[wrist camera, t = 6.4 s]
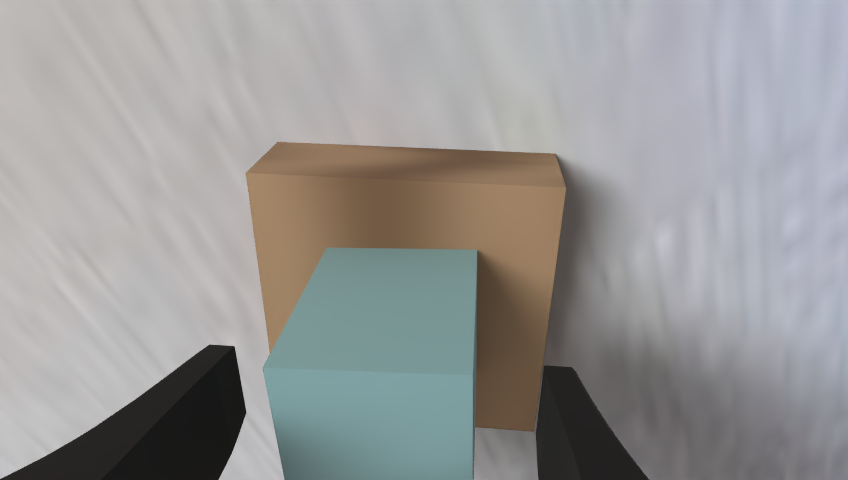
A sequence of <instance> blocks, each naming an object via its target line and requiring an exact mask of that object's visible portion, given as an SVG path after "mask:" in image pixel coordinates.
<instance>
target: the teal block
mask: <svg viewBox="0 0 848 480" xmlns="http://www.w3.org/2000/svg"><path fill="white" fill-rule="evenodd" d="M476 368H477V250H466V249H395V248H326V250H325V252H324V253H323V255H322V257H321V259H320V261H319V263H318V265H317V267H316V268H315V270H314V272H313V274H312V276H311V278H310V280H309V282H308V284H307V285H306V287H305V289H304V291H303V293H302V295H301V297H300V299H299V300H298V302H297V304H296V306H295V308H294V310H293V312H292V314H291V315H290V317H289V319H288V321H287V323H286V325H285V327H284V329H283V331H282V332H281V334H280V336H279V338H278V340H277V342H276V344H275V346H274V347H273V349H272V351H271V353H270V355H269V357H268V359H267V361H266V362H265V364H264V366H263V372H264V377H265V382H266V388H267V393H268V398H269V403H270V408H271V413H272V418H273V423H274V428H275V433H276V438H277V443H278V448H279V453H280V458H281V463H282V468H283V473H284V478H285V480H474V445H475V408H476Z"/></svg>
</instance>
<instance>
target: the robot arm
mask: <svg viewBox="0 0 848 480" xmlns="http://www.w3.org/2000/svg"><path fill="white" fill-rule="evenodd" d="M245 415H246V408H245V402H244V397H243V391H242V386H241V380H240V374H239V369H238V363H237V358H236V352H235V347H234V346H222V345H209V346H207V347H206V348H204V349H203V350H201V351H200V352H199V353H197V354H196V355H194V356H193V357H192V358H190V359H189V360H188V361H186V362H185V363H184V364H182V365H181V366H180V367H179V368H177V369H176V370H175V371H173V372H172V373H171V374H169V375H168V376H167V377H165V378H164V379H163V380H161V381H160V382H159V383H157V384H156V385H154V386H153V387H152V388H150V389H149V390H148V391H146V392H145V393H144V394H142V395H141V396H140V397H138V398H137V399H135V400H134V401H132V402H131V403H130V404H128V405H127V406H125V407H124V408H122V409H121V410H119V411H118V412H116V413H115V414H113V415H112V416H110V417H109V418H107V419H106V420H105V421H103V422H102V423H100V424H99V425H97V426H96V427H94V428H92V429H91V430H89V431H88V432H86V433H84V434H83V435H81V436H80V437H78V438H76V439H75V440H73V441H71V442H69V443H68V444H66V445H64V446H63V447H61V448H59V449H57V450H56V451H54V452H52V453H50V454H49V455H47V456H45V457H43V458H41V459H39V460H37V461H35V462H33V463H31V464H29V465H27V466H26V467H24V468H22V469H20V470H18V471H16V472H14V473H12V474H10V475H8V476H6V477H4V478H2V479H0V480H219V478H220V476H221V474H222V472H223V470H224V468H225V466H226V464H227V462H228V460H229V458H230V456H231V454H232V451H233V449H234V446H235V443H236V441H237V438H238V435H239V432H240V429H241V426H242V424H243V421H244V418H245ZM536 443H537V463H538V477H539V480H649V479H648V478H647V476H646V475H645V474H644V473H643V472H642V470H641V469H640V468H639V466H638V465H637V464H636V463H635V461H634V460H633V459H632V458H631V456H630V455H629V454H628V452H627V451H626V450H625V448H624V447H623V446H622V444H621V443H620V441H619V440H618V439H617V437H616V436H615V434H614V433H613V431H612V430H611V428H610V427H609V426H608V424H607V423H606V421H605V420H604V418H603V417H602V415H601V414H600V412H599V410H598V409H597V407H596V406H595V404H594V402H593V401H592V399H591V398H590V396H589V394H588V393H587V391H586V389H585V387H584V386H583V384H582V382H581V380H580V378H579V377H578V375H577V373H576V371H575V370H574V369H573V368H572V367H558V366H544V371H543V380H542V388H541V396H540V404H539V413H538V421H537V429H536Z"/></svg>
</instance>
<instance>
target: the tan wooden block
mask: <svg viewBox="0 0 848 480" xmlns="http://www.w3.org/2000/svg"><path fill="white" fill-rule="evenodd" d="M246 177H247V185H248V192H249V200H250V207H251V215H252V222H253V230H254V237H255V244H256V252H257V259H258V267H259V274H260V282H261V289H262V297H263V304H264V312H265V319H266V326H267V334H268V341H269V349H270V353H271V351H272V349H273V347H274V346H275V344H276V342H277V340H278V338H279V336H280V334H281V332H282V331H283V329H284V327H285V325H286V323H287V321H288V319H289V317H290V315H291V314H292V312H293V310H294V308H295V306H296V304H297V302H298V300H299V299H300V297H301V295H302V293H303V291H304V289H305V287H306V285H307V284H308V282H309V280H310V278H311V276H312V274H313V272H314V270H315V268H316V267H317V265H318V263H319V261H320V259H321V257H322V255H323V253H324V252H325V250H326V248H395V249H466V250H477V368H476V408H475V427H482V428H495V429H508V430H521V431H534V427H535V419H536V412H537V404H538V397H539V389H540V382H541V374H542V367H543V359H544V352H545V344H546V337H547V329H548V322H549V314H550V306H551V299H552V291H553V284H554V276H555V269H556V261H557V254H558V246H559V239H560V231H561V224H562V216H563V208H564V201H565V193H566V185H565V182H564V179H563V176H562V173H561V170H560V167H559V164H558V161H557V158H556V155H555V154H549V153H525V152H501V151H478V150H454V149H430V148H406V147H383V146H359V145H335V144H312V143H288V142H277V143H276V144H275V145H274V146H273V147H272V148H271V149H270V150H269V151H268V152H267V153H266V154H265V155H264V156H263V157H262V158H261V159H260V160H259V161H258V162H257V163H256V164H255V165H254V166H253V167H252V168H251V169H249V170H248V171H247V172H246Z"/></svg>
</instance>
